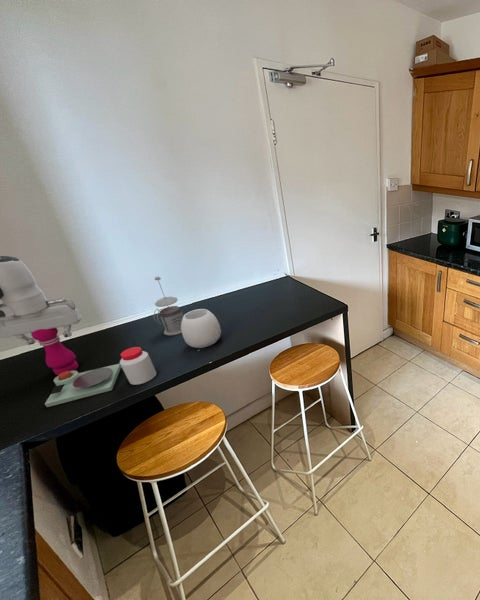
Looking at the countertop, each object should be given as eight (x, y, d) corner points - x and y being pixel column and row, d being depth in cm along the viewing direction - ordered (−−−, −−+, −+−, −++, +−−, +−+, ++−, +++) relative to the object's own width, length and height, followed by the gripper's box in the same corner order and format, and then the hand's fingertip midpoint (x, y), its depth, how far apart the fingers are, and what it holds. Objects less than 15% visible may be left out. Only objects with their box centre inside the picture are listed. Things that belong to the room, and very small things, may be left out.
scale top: (48, 397, 97) (47, 396, 96) (60, 378, 104) (60, 377, 104) (108, 382, 103) (108, 381, 103) (116, 365, 111) (115, 364, 110)
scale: (44, 407, 97) (39, 400, 95) (61, 380, 108) (57, 373, 106) (112, 390, 104) (108, 383, 102) (121, 366, 115) (118, 359, 113)
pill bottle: (136, 387, 105) (122, 361, 100) (124, 380, 108) (111, 354, 103) (161, 374, 111) (149, 349, 106) (149, 367, 114) (138, 342, 109)
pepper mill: (67, 376, 110) (37, 328, 101) (47, 376, 110) (15, 327, 101) (86, 363, 116) (59, 316, 107) (67, 363, 116) (39, 316, 107)
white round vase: (229, 341, 129) (220, 313, 123) (194, 356, 120) (183, 326, 114) (215, 330, 137) (207, 303, 131) (182, 343, 128) (171, 314, 122)
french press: (195, 324, 141) (177, 273, 130) (173, 338, 131) (151, 284, 119) (177, 322, 143) (157, 271, 131) (153, 335, 133) (131, 282, 121)
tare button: (58, 381, 104) (56, 377, 103) (62, 376, 106) (59, 372, 105) (70, 378, 105) (68, 374, 104) (73, 373, 107) (71, 369, 107)
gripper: (73, 293, 108) (92, 327, 114) (-11, 307, 99) (14, 343, 106) (67, 301, 103) (86, 336, 109) (-23, 316, 94) (4, 353, 101)
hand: (50, 339), depth 108 cm, fingers open, 8 cm apart
